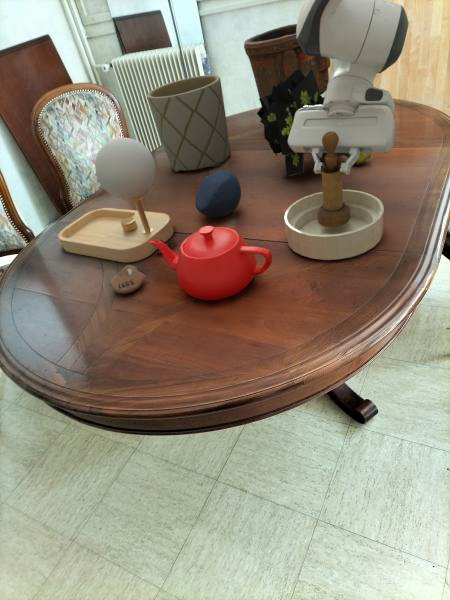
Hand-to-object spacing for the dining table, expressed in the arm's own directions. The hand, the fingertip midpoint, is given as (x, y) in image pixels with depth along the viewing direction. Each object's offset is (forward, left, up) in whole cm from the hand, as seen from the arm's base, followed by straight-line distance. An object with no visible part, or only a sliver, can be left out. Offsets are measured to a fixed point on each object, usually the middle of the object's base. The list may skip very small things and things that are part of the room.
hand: (331, 173), depth 81 cm
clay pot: (+15, -71, -13) cm, 74 cm away
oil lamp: (+41, +17, -13) cm, 46 cm away
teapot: (+22, +17, -13) cm, 31 cm away
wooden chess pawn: (0, -1, -11) cm, 11 cm away
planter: (+45, -51, -13) cm, 69 cm away
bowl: (0, +2, -13) cm, 13 cm away
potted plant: (+6, -35, -13) cm, 38 cm away
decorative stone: (+28, -12, -13) cm, 33 cm away
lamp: (+52, -2, -13) cm, 54 cm away
